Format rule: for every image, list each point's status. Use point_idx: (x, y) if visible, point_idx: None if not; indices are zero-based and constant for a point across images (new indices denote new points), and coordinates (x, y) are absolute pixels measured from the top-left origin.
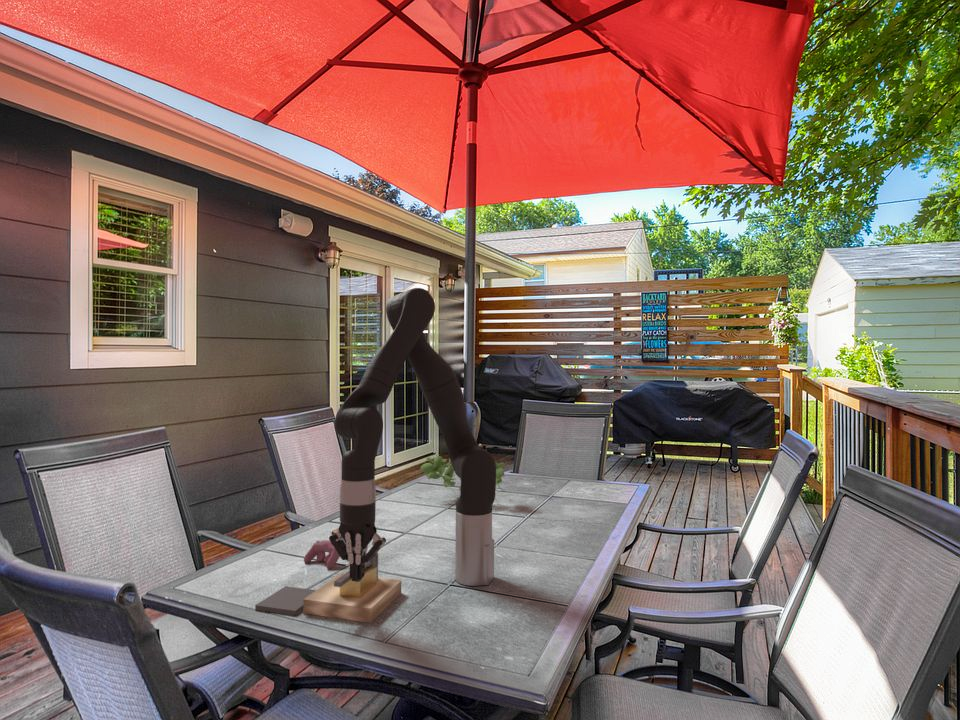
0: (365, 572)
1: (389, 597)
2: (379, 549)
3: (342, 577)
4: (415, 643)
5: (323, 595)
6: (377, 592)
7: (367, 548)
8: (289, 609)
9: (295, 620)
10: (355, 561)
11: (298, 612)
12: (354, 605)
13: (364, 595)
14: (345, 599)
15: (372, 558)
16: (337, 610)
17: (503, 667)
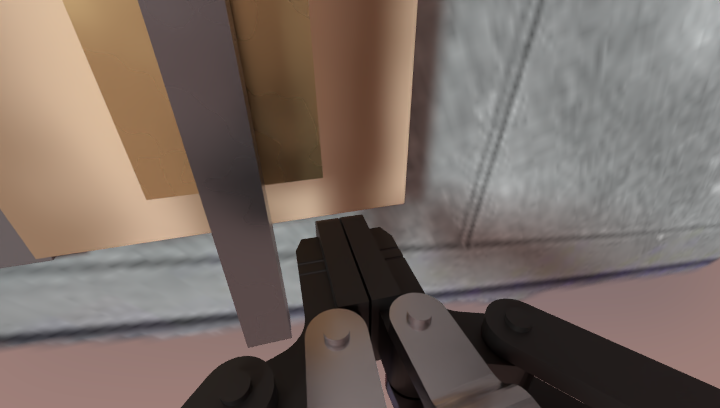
0: (269, 19)
1: None
2: (691, 385)
3: (250, 292)
4: (538, 220)
5: (88, 183)
6: (359, 29)
7: (529, 400)
8: (10, 262)
9: (110, 270)
10: (388, 392)
11: None
12: (328, 208)
13: None
14: None
15: (520, 302)
16: None
17: (695, 222)
